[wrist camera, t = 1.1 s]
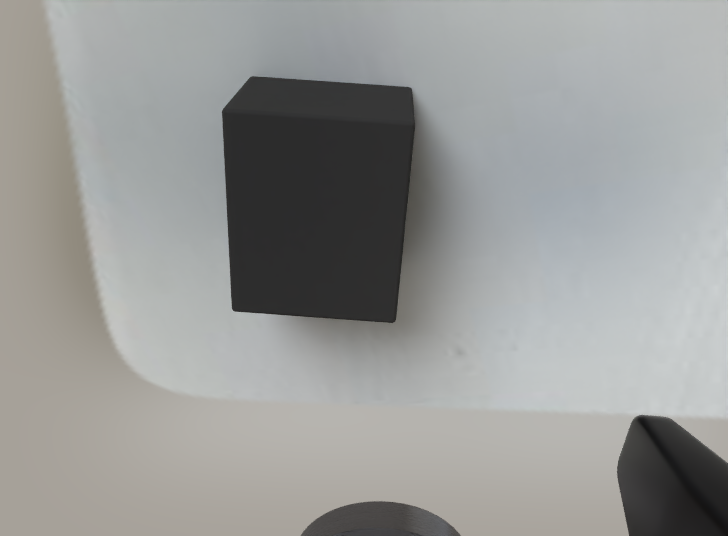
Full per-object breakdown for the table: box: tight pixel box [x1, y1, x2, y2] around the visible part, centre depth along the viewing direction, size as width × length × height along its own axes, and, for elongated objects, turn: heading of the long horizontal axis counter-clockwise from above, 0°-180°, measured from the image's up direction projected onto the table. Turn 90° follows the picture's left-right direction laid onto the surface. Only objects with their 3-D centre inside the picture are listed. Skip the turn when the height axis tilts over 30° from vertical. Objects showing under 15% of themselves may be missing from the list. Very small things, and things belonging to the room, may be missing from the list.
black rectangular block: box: [222, 77, 415, 323], centre depth 16 cm, size 5×4×3 cm
